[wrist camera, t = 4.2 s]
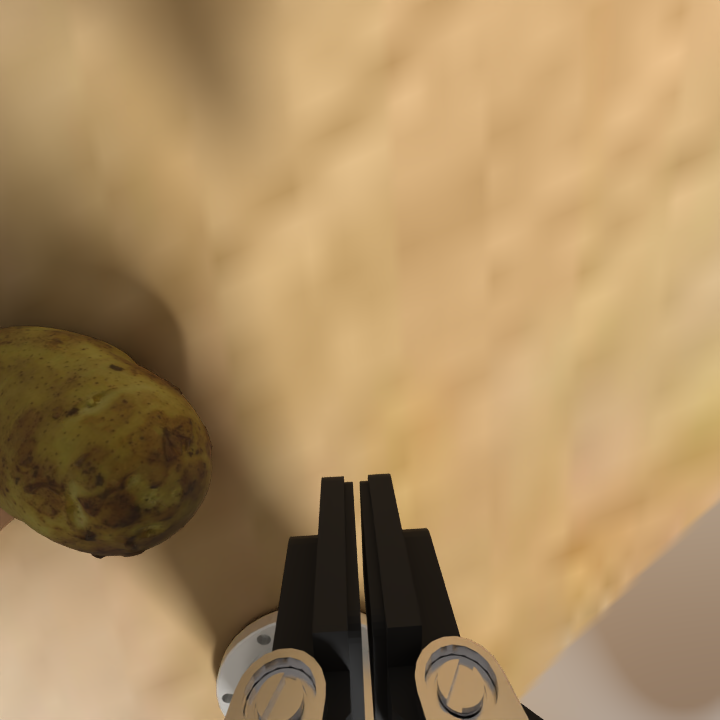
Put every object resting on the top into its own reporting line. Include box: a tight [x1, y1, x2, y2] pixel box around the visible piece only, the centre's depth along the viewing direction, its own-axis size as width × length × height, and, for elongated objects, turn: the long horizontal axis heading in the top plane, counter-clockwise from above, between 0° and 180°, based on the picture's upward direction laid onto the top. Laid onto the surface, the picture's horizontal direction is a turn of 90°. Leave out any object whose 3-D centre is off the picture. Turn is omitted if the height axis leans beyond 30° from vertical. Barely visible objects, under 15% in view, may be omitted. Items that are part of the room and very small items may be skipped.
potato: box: [0, 326, 212, 559], centre depth 18 cm, size 8×13×8 cm, turn 49°
